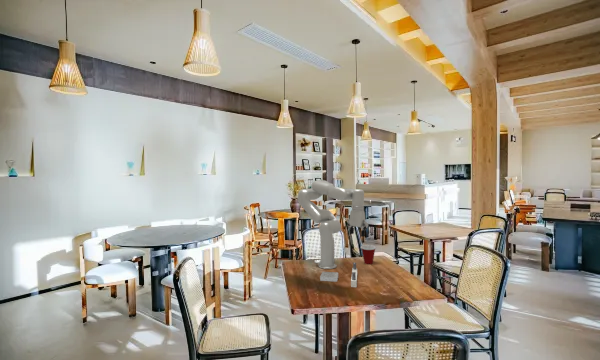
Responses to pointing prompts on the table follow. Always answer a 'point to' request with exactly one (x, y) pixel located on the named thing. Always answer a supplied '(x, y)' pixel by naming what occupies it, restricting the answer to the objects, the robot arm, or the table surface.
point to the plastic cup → (368, 253)
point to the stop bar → (354, 276)
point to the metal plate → (329, 276)
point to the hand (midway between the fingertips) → (357, 235)
